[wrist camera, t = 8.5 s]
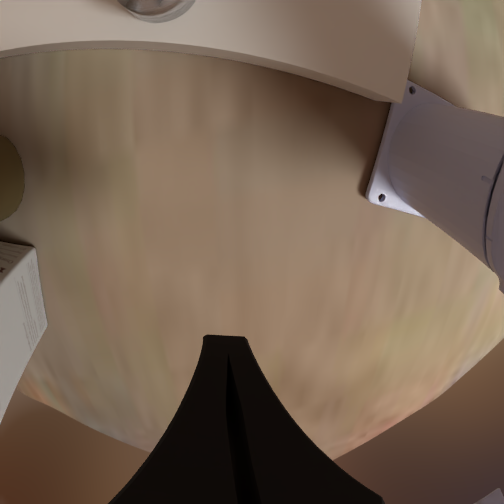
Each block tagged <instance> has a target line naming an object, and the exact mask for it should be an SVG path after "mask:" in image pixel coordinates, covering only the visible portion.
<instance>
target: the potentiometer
mask: <svg viewBox="0 0 504 504" xmlns="http://www.w3.org/2000/svg"><path fill="white" fill-rule="evenodd" d="M117 1H118V2H119V3H120V4H121V5H122V6H123V7H125V8H126V9H127V10H128V11H129V12H130V13H131V14H132V15H134V16H135V17H136V18H138V19H139V20H141V21H144V22H148V23H163V22H168V21H171V20H174V19H176V18H178V17H180V16H181V15H183V14H184V13H186V12H187V11H188V10H189V9H190V8H191V7H192V6H193V4H194V3H195V1H196V0H117Z"/></svg>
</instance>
